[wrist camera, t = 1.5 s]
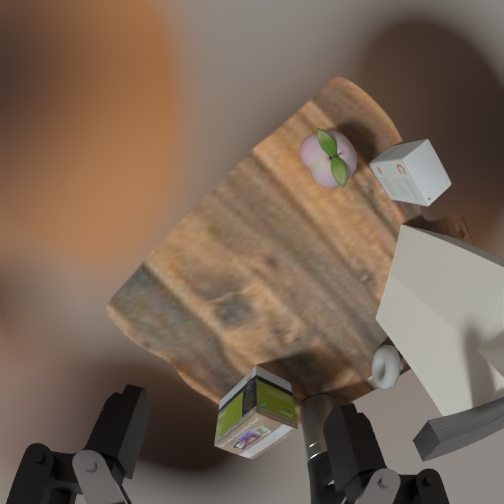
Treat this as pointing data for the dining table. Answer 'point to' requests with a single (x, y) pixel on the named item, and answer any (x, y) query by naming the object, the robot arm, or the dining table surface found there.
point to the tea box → (256, 414)
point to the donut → (386, 367)
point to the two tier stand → (447, 317)
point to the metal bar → (459, 429)
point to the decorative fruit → (329, 158)
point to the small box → (411, 172)
